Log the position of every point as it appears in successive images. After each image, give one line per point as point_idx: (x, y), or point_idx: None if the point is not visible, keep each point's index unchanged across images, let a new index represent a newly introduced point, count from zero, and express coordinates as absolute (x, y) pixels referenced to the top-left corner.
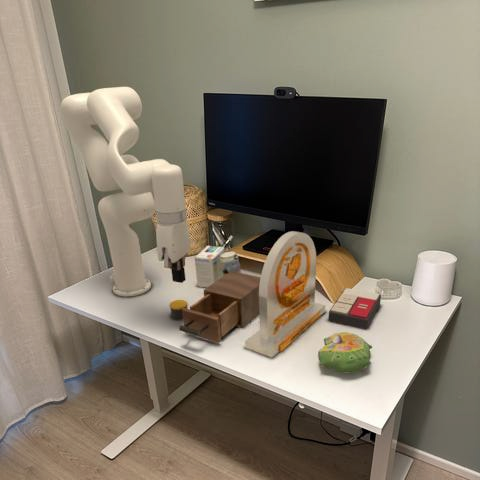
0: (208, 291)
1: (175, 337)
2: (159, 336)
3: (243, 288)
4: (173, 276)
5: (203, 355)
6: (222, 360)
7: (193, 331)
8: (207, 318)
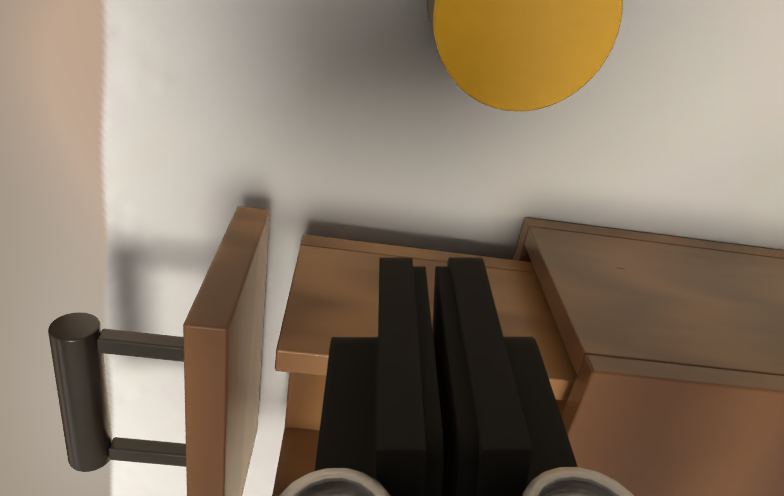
0: (572, 415)
1: (188, 144)
2: (134, 14)
3: None
4: (329, 375)
5: (116, 381)
6: (134, 467)
7: (65, 437)
8: None
